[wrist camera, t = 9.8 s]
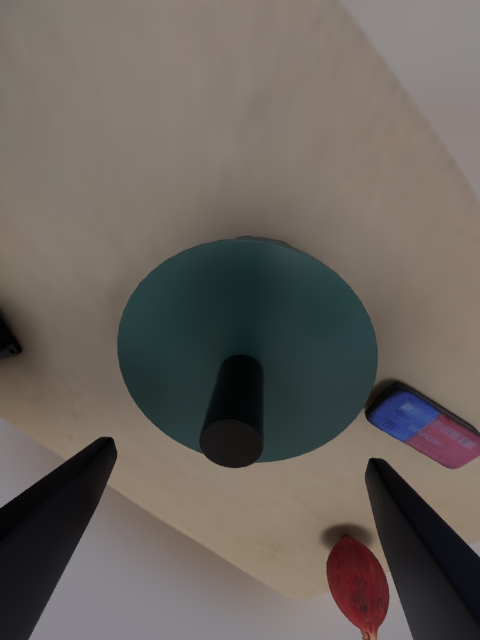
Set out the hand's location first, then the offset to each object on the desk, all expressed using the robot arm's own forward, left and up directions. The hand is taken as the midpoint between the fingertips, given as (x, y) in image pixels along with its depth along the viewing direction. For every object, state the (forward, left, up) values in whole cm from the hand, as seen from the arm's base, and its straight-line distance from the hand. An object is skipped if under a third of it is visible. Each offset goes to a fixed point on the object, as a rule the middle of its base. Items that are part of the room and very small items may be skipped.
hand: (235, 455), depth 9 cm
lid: (0, 0, -5) cm, 5 cm away
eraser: (+12, -12, -12) cm, 21 cm away
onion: (+4, -29, -12) cm, 32 cm away
